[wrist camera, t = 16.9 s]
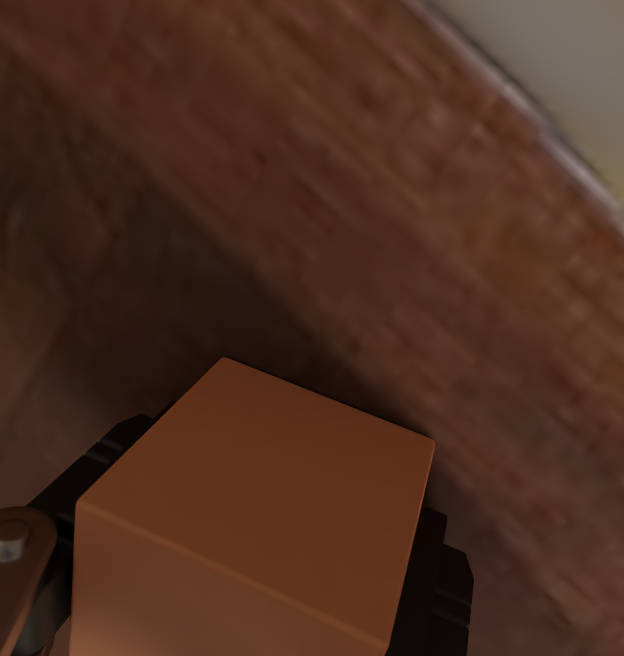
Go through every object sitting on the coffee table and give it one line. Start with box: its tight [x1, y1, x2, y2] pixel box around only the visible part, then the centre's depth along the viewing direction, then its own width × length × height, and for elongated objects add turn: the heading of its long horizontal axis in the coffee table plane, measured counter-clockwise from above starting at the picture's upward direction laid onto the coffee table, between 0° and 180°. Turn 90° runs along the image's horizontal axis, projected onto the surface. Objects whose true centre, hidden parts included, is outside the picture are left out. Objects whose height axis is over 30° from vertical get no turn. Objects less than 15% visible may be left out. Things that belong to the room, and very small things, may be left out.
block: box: [69, 357, 435, 656], centre depth 10 cm, size 4×4×4 cm
